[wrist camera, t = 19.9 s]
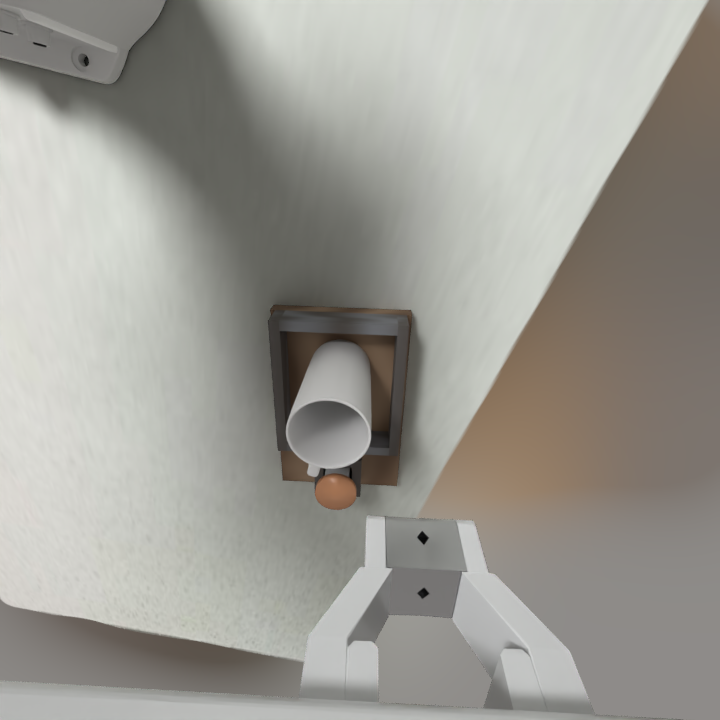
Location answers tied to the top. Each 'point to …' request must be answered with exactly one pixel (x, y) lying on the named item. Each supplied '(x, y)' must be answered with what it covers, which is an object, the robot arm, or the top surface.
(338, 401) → the mug
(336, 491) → the click button
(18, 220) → the top surface
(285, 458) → the board
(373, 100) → the top surface
